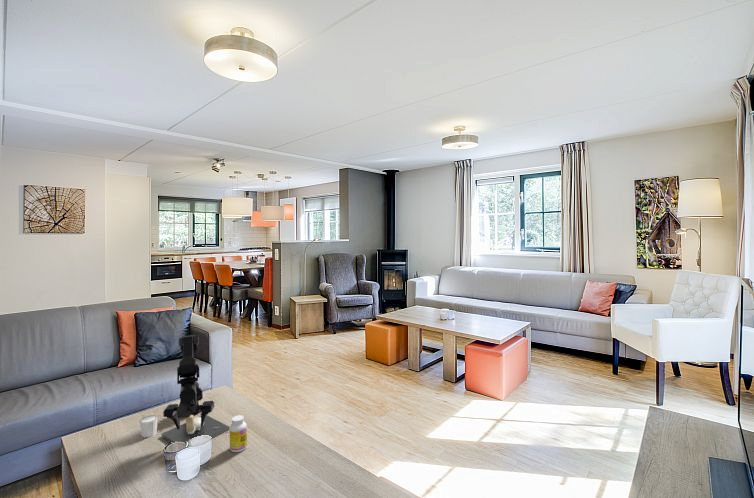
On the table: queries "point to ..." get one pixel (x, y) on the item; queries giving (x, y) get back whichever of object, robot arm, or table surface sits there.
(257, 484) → the table surface
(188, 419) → the beige rounded piece
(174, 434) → the base
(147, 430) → the shot glass
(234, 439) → the supplement bottle
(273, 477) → the table surface
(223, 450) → the table surface
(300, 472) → the table surface
